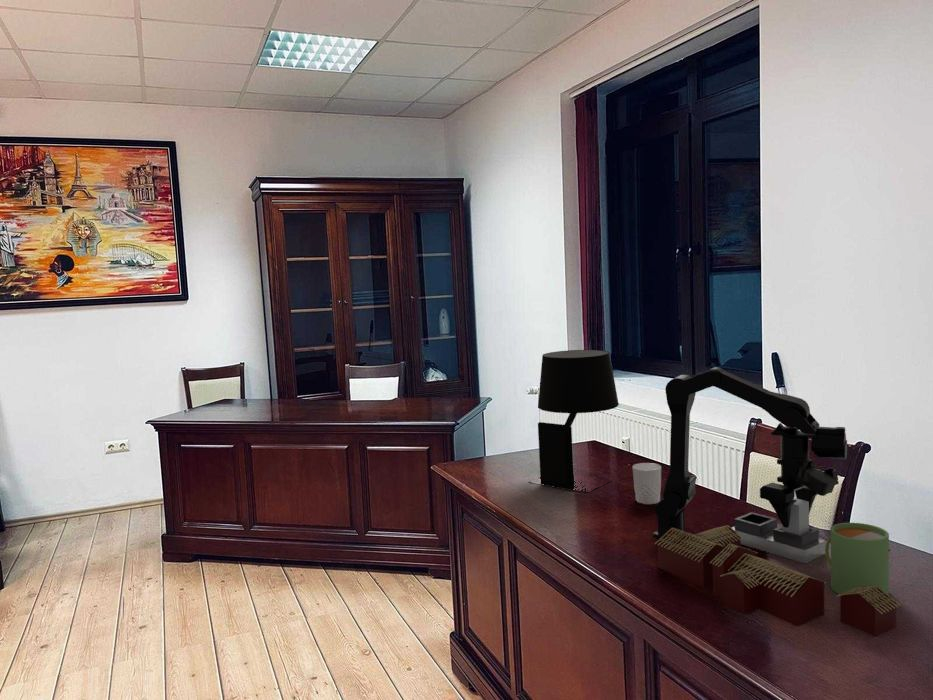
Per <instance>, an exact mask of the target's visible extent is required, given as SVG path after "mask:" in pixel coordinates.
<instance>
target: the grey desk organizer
mask: <svg viewBox="0 0 933 700" xmlns="http://www.w3.org/2000/svg"><path fill="white" fill-rule="evenodd" d="M733 523H734V526H732V527H731V528H732V529H733V530H734V531H736V532H737V533H738V534H739V535H740V536H741V537H742V538H743V539H742V538H741V537H740V538H741V545H742V546H745V547H749V548H752V549H755V548H756V549H755V550H758V549H759V551H762V552H765V551H766V553H768V552H769V554H773V555H775V554H776V555H775V556H778V555H779V557H782V556H783V557H782V558H785V557H786V558H785V559H788V558H789V559H788V560H792V561H794V562H795V561H796V562H799V563H801V564H808V563H810V562H811V561H814V560H817V559H818V558H820V557H822V556H823V555H826V553H825V546H826V541H825V540H823V539H819V533H820V532H819V528H814V527H810V526H809V532H807V533H805V534H802V535H797V534H793V533H790V532H786V531H782V525H780V526H778V518H775V517H772V516H771V517H770V516H767V515H764V514H761V513H760V514H759V513H756V512H749V513H746V514H744V515H740V516H737V517H736V518H734V522H733ZM813 559H814V560H813Z"/></svg>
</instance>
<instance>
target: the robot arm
mask: <svg viewBox="0 0 933 700" xmlns="http://www.w3.org/2000/svg"><path fill="white" fill-rule="evenodd" d="M711 387H715V388H716V389H719V390H721V391H723V392H726V393H728V394H730V395H732V396H735V397H736V398H739V399H741V400H743V401H745V402H748V403H750V404H752V405H754V406H755V407H758V408H761V409H762V410H764V411H765V412H766V413H767V414H769V415H770V416H771V417H772V418H774V420H776V421H777V422H779V423H778V425H777V426H776V427H775V428H774V429H772V431H771V432H770V434H771V436H777V437H778V436H779V437H780V458H777V459H776V464H777V465H780V476H777V477H776V482H778V483H776V482H769V483H767V484H765V485H763V486H761V487H760V488H759V498H760V499H762V500H766V501H769V503H770V505H771V507H772V508H773V511H774V512H775V513H776V515H777V518H778V519H779V521H780V523H781V526H782V525H783V527H786V528H788V527H789V522H790V512H791V506H792V505H793V504H794V503H795V502H796V501H797V500H793V499H794V498H796V499H800V500H805V501H809V514H810V513H811V510H812V507H813V503H814V501H815V499H816V497H817V496H818V495H819V496H822V497H825V496H826V495H829V494H832V493H833V491H834V488H835V486H836V485H837V486H838V485H839V483H840V481H839V477H838V476H839V475H838V470H837V469H835V468H834V467H828V468H826V469H822V468H821V469H818V468H816V465H815V461H814V459H810V449H811V453H813V454H814V455H816V457H817V458H824V459H825V458H827V459H837V460H846V459H847V455H848V439H847V434H846V427H844V426H836V427H832V426H830V427H829V426H821V425H820V423H819V421H817V420H816V418H815V417H814V416H813V414H812V413H811V410H810V408H811V407H810V406H809V404H808V402H807V401H806V400H804V399H803V398H800V397H797V396H793V395H790V394H786V393H785V394H784V393H778V392H773V391H771V390H768V389H766V388H764V387H761V386H759V385H757V384H755V383H753V382H751V381H748V380H746V379H743V378H741V377H740V376H737V375H734V374H733V373H731V372H728V371H726V370H724V368H721V367H719V366H714V367H712V368H710V369H708V370H706V371H702V372H698V373H695V374H693V375H688V374H680V375H677V376H676V377H674V378H672V379H670V380H669V381H668V382H667V383H666V385H665V396H666V403H667V405H668V410H669V413H670V442H669V443H670V444H669V445H670V446H669V447H670V448H669V449H670V451H669V453H670V454H669V471H668V475H667V478H666V480H665V484H664V488H663V492H662V498H660V501H659V502H658V503H656V504H655V505H653V510H654V512H655V515H656V517H657V518H656V521H657V530H656V531H654V532H653V533H652V535H653V536H655V537H657V538H660V537H661V536H662V535H663V534H664V533H665V532H666V531H667V530H669V529H670V528H671V527H672V528H675V529H679V530H682V531H685V532H686V520H685V519H686V516H685V509H684V508H685V507H686V506H687V505H688V504H689V502H690V501H691V500H692V499H693V497H694V495H695V494H696V493H697V489H696V482H697V477H696V476H692V475H691V474H690V471H689V456H690V455H689V453H690V426H691V425H690V423H691V422H690V421H691V417H690V416H691V411H692V407H693V404H694V402H695V399H696V398H695V397H696V393H698V392H701V391H703V390H705V389H709V388H711ZM809 438H810V439H809ZM810 440H811V441H810ZM809 441H810V442H809ZM810 444H811V446H810ZM779 483H781V484H779Z"/></svg>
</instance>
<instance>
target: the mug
mask: <svg viewBox="0 0 933 700" xmlns="http://www.w3.org/2000/svg"><path fill="white" fill-rule="evenodd" d="M829 549H830V552H829ZM890 551H891V550H890V534H889V532H888V531H887V530H886V529H884V528H882V527H879V526H876V525H873V524H869V523H863V522H841V523H836V524H833V525H832V526H831V527H830V535H829V536H828V538H827V540H826V541H825V557H826V560H827V563H828V565H829V566H830V588H831V589H832V590H834V591H835V593H836V594H837V593H838V594H837V595H839V594H842V593H845V592H847V591H848V590H851V589H854V588H859V587H865V586H867V587H868V586H878V587H879V588H881V589H882V590H883V591H884V592H886V593H887V594H888V595H889V594H890V589H889V588H890V580H889V579H890V570H889V569H890V567H889V566H890ZM834 591H833V592H834ZM889 596H890V595H889Z"/></svg>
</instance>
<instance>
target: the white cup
mask: <svg viewBox="0 0 933 700" xmlns="http://www.w3.org/2000/svg"><path fill="white" fill-rule="evenodd" d="M632 476H633V477H632V478H633V487H634V493H635V495H634V496H635V501H637V503H638V504H641V503H642V505H654V504H655V505H656V504H657V503H658V502H659V501H660V500H661V489H662V466H661V465H660V464H658V463H653V462H652V463H651V462H640V463H635V464H633V465H632Z"/></svg>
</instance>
